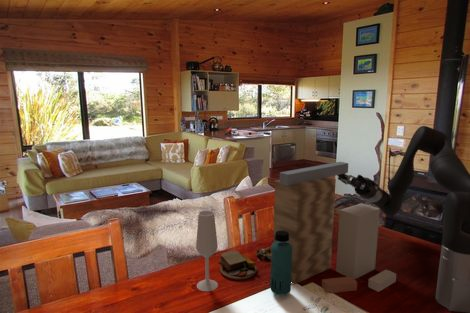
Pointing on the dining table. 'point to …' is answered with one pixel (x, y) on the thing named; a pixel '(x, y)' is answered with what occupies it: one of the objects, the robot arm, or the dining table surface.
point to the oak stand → (306, 224)
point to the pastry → (264, 253)
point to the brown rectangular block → (339, 284)
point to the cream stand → (357, 240)
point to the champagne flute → (206, 245)
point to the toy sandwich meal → (236, 265)
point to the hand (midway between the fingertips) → (347, 174)
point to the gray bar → (313, 173)
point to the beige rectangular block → (382, 280)
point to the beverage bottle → (281, 264)
